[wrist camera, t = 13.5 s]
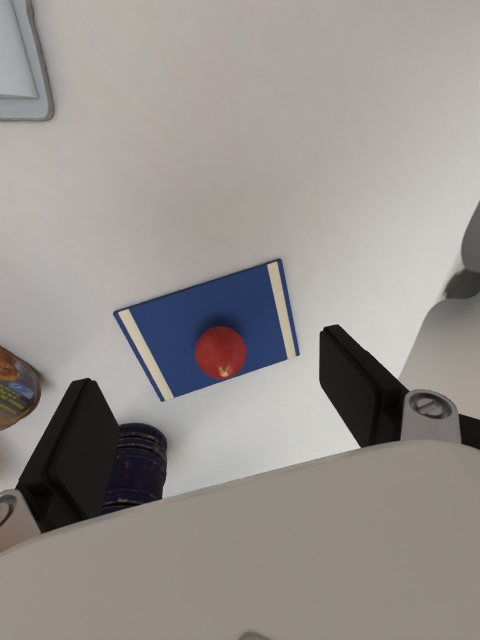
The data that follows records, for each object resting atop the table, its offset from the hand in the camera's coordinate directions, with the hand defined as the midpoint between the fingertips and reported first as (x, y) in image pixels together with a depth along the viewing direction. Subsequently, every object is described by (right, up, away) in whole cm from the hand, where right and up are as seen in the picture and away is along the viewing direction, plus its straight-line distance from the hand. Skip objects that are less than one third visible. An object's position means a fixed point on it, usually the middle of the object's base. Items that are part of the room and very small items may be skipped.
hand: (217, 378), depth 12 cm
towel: (-2, +1, +24) cm, 24 cm away
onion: (-2, +1, +23) cm, 23 cm away
